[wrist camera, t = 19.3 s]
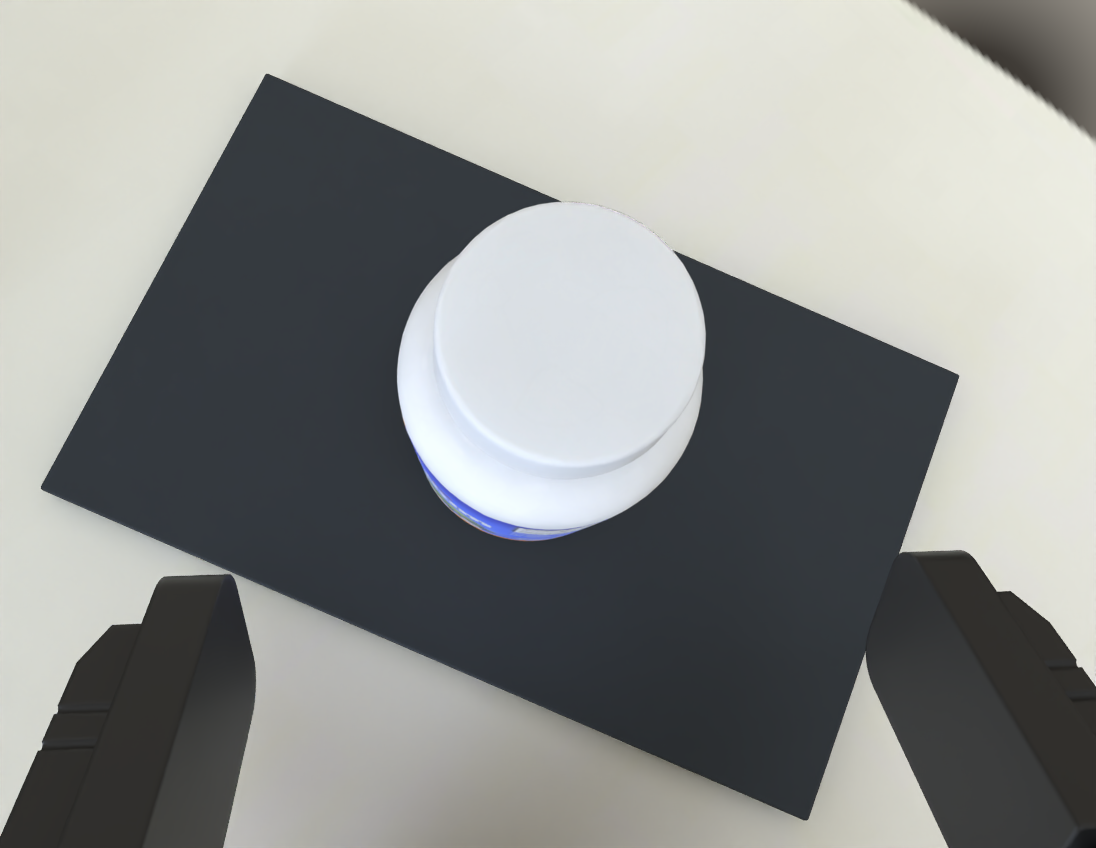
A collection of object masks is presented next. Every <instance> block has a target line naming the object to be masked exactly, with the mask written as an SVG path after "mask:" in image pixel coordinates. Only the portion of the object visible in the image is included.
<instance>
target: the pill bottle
mask: <svg viewBox="0 0 1096 848" xmlns="http://www.w3.org/2000/svg"><path fill="white" fill-rule="evenodd" d="M705 341H706V330H705V322H704V314H703V310H702V306H701V302H700V299H699V296H698V293H697V290H696V288H695V285H694V283H693V281H692V279H691V277H690V275H689V274H688V272H687V270H686V268H685V267H684V265H683V263H682V262H681V261H680V259H679V258H678V257H677V255H676V254H675V253H674V252H673V250H672V249H671V248H670V247H669V246H668V245H667V244H666V242H664V241H663V240H662V239H661V238H660V237H658V236H657V235H656V234H655V233H654V232H652V231H651V230H650V229H648V228H647V227H646V226H644V225H643V224H642V223H640V222H638V221H636V220H635V219H633V218H631V217H629V216H626V215H624V214H622V213H620V212H618V211H615V210H612V209H609V208H606V207H603V206H600V205H593V204H586V203H578V202H552V203H545V204H539V205H535V206H531V207H527V208H524V209H521V210H519V211H516V212H514V213H512V214H509V215H507V216H505V217H503V218H501V219H500V220H498V221H496V222H495V223H493V224H492V225H490V226H488V227H487V228H486V229H484V230H483V231H482V232H481V233H480V234H478V235H477V236H476V237H475V238H474V239H473V240H472V241H471V242H470V243H469V244H468V245H467V246H466V247H465V248H464V250H463V251H462V252H461V253H460V254H459V255H458V256H457V257H455V258H454V259H453V260H451V261H450V262H449V263H448V264H446V265H445V266H444V267H443V268H442V269H441V270H440V271H439V273H438V274H437V275H436V276H435V277H434V278H433V279H432V280H431V281H430V283H429V284H428V285H427V286H426V288H425V289H424V291H423V292H422V294H421V295H420V297H419V298H418V300H417V302H416V303H415V305H414V307H413V309H412V312H411V314H410V316H409V319H408V321H407V324H406V327H405V329H404V332H403V336H402V340H401V345H400V350H399V356H398V367H397V386H398V395H399V402H400V407H401V411H402V417H403V421H404V424H405V428H406V431H407V433H408V435H409V437H410V440H411V442H412V444H413V447H414V449H415V451H416V454H417V456H418V458H419V461H420V463H421V465H422V467H423V470H424V472H425V474H426V477H427V479H428V480H429V482H430V484H431V486H432V488H433V489H434V491H435V492H436V493H437V495H438V496H439V498H440V499H441V500H442V501H443V502H444V504H445V505H446V506H447V507H448V508H449V509H450V510H451V511H452V512H454V513H455V514H456V515H457V516H458V517H460V518H461V519H463V520H464V521H466V522H467V523H469V524H470V525H472V526H474V527H476V528H477V529H479V530H481V531H483V532H486V533H488V534H491V535H494V536H497V537H501V538H505V539H510V540H519V541H539V540H548V539H554V538H558V537H562V536H565V535H568V534H571V533H573V532H576V531H579V530H581V529H584V528H587V527H590V526H592V525H595V524H597V523H600V522H602V521H605V520H607V519H609V518H612V517H613V516H615V515H617V514H619V513H621V512H623V511H625V510H627V509H628V508H630V507H631V506H633V505H634V504H636V503H637V502H639V501H640V500H642V499H643V498H644V497H646V496H647V495H648V494H649V493H650V492H652V491H653V490H654V489H655V488H656V487H657V486H658V485H659V484H660V483H661V482H662V481H663V480H664V479H665V478H666V477H667V475H668V474H669V473H670V472H671V470H672V469H673V468H674V466H675V465H676V463H677V462H678V460H679V459H680V457H681V456H682V454H683V452H684V450H685V448H686V446H687V444H688V442H689V440H690V438H691V436H692V433H693V431H694V427H695V424H696V421H697V418H698V414H699V409H700V404H701V396H702V385H703V369H702V367H703V362H704V356H705Z"/></svg>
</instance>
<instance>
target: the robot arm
mask: <svg viewBox="0 0 1096 848" xmlns="http://www.w3.org/2000/svg"><path fill="white" fill-rule="evenodd" d="M866 662H867V668H868V672H869V676H870V679H871V682H872V685H873V687H874V689H875V691H876V694H877V696H878V698H879V700H880V702H881V704H882V706H883V709H884V711H885V713H886V715H887V717H888V719H889V721H890V724H891V726H892V728H893V730H894V732H895V734H896V736H897V738H898V741H899V743H900V745H901V747H902V749H903V751H904V753H905V756H906V758H907V760H908V762H909V764H910V766H911V768H912V771H913V773H914V775H915V777H916V779H917V781H918V783H919V786H920V788H921V790H922V792H923V794H924V796H925V798H926V801H927V803H928V805H929V807H930V809H931V811H932V813H933V815H934V818H935V820H936V822H937V824H938V826H939V828H940V830H941V833H942V835H943V837H944V839H945V841H946V843H947V845H948V848H1096V686H1095V685H1094V683H1093V682H1092V681H1091V679H1090V678H1089V677H1088V675H1087V674H1086V672H1085V671H1084V670H1083V668H1082V667H1079V668H1078V667H1077V665H1076V658H1075V657H1074V656H1073V654H1072V653H1071V651H1070V650H1069V649H1068V647H1067V646H1066V644H1065V643H1064V642H1063V640H1062V639H1061V637H1060V636H1059V635H1058V633H1057V632H1056V631H1055V629H1054V628H1053V626H1052V625H1051V624H1050V622H1048V621H1047V620H1046V619H1045V618H1043V617H1042V616H1041V615H1040V614H1038V613H1037V612H1036V611H1035V610H1033V609H1032V608H1031V607H1030V606H1028V605H1027V604H1026V603H1025V602H1024V601H1022V600H1021V599H1020V598H1019V597H1017V596H1016V595H1015V594H1014V593H1012V592H1011V591H1005V592H997V591H996V590H995V588H994V587H993V585H992V584H991V582H990V581H989V579H988V578H987V576H986V575H985V573H984V572H983V570H982V569H981V568H980V566H979V565H978V563H977V562H976V560H975V559H974V558H973V557H972V556H971V555H970V554H969V553H967V552H965V551H962V550H956V551H928V552H903V553H900V554H899V555H898V556H897V557H896V558H895V560H894V561H893V564H892V566H891V569H890V572H889V575H888V578H887V580H886V583H885V586H884V589H883V592H882V594H881V597H880V600H879V603H878V606H877V609H876V611H875V614H874V617H873V620H872V623H871V626H870V628H869V631H868V635H867V640H866ZM255 692H256V671H255V661H254V656H253V652H252V648H251V644H250V640H249V635H248V631H247V627H246V623H245V619H244V615H243V610H242V606H241V602H240V598H239V594H238V590H237V586H236V582H235V580H234V578H233V577H232V575H230V574H224V575H196V576H168V577H163V578H161V579H160V581H159V582H158V584H157V585H156V587H155V590H154V592H153V595H152V597H151V600H150V603H149V605H148V608H147V611H146V613H145V616H144V618H143V621H142V624H125V625H112V626H111V627H110V628H109V629H108V630H107V631H106V632H105V633H104V634H103V635H102V636H101V637H100V638H99V639H98V641H97V642H96V643H95V644H94V645H93V646H92V647H91V648H90V649H89V650H88V651H87V652H86V653H85V654H84V655H83V656H82V658H81V659H80V660H79V661H78V662H77V663H76V665H75V668H74V670H73V672H72V674H71V677H70V679H69V681H68V684H67V686H66V688H65V690H64V693H63V695H62V697H61V700H60V702H59V704H58V713H57V714H54V715H53V718H52V720H51V722H50V725H49V727H48V729H47V731H46V734H45V736H44V738H43V741H42V743H43V746H42V750H41V751H38V752H37V754H36V756H35V759H34V761H33V763H32V766H31V768H30V770H29V772H28V775H27V777H26V779H25V782H24V784H23V786H22V788H21V791H20V793H19V795H18V797H17V800H16V802H15V804H14V807H13V809H12V811H11V813H10V816H9V818H8V820H7V823H6V825H5V827H4V829H3V832H2V834H1V836H0V848H223V846H224V841H225V837H226V832H227V828H228V823H229V819H230V814H231V810H232V805H233V801H234V796H235V792H236V787H237V783H238V778H239V774H240V769H241V765H242V760H243V756H244V751H245V747H246V742H247V738H248V733H249V729H250V724H251V720H252V715H253V710H254V703H255Z"/></svg>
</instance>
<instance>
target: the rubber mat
mask: <svg viewBox="0 0 1096 848" xmlns="http://www.w3.org/2000/svg"><path fill="white" fill-rule="evenodd" d="M552 202H561V201H559V200H556V199H554V198H552V197H549V196H547V195H545V194H542V193H540V192H538V191H536V190H533V189H531V188H529V187H526V186H524V185H522V184H520V183H517V182H515V181H513V180H510V179H508V178H506V177H503V176H501V175H499V174H497V173H494V172H492V171H490V170H487V169H485V168H483V167H481V166H478V165H476V164H474V163H471V162H469V161H467V160H465V159H462V158H460V157H458V156H455V155H453V154H451V153H448V152H446V151H444V150H442V149H439V148H437V147H435V146H432V145H430V144H428V143H426V142H423V141H421V140H419V139H416V138H414V137H412V136H409V135H407V134H405V133H403V132H400V131H398V130H396V129H393V128H391V127H389V126H387V125H384V124H382V123H380V122H377V121H375V120H373V119H370V118H368V117H366V116H364V115H361V114H359V113H357V112H354V111H352V110H350V109H348V108H345V107H343V106H341V105H338V104H336V103H334V102H331V101H329V100H327V99H325V98H322V97H320V96H318V95H315V94H313V93H311V92H309V91H306V90H304V89H302V88H299V87H297V86H295V85H292V84H290V83H288V82H286V81H283V80H281V79H279V78H276V77H274V76H272V75H270V74H266V75H265V77H264V78H263V80H262V82H261V84H260V86H259V88H258V89H257V91H256V93H255V95H254V97H253V99H252V100H251V102H250V104H249V106H248V108H247V110H246V111H245V113H244V115H243V117H242V119H241V121H240V122H239V124H238V126H237V128H236V130H235V132H234V133H233V135H232V137H231V139H230V141H229V143H228V144H227V146H226V148H225V150H224V152H223V154H222V155H221V157H220V159H219V161H218V163H217V165H216V166H215V168H214V170H213V172H212V174H211V176H210V177H209V179H208V181H207V183H206V185H205V187H204V188H203V190H202V192H201V194H200V196H199V198H198V199H197V201H196V203H195V205H194V207H193V209H192V210H191V212H190V214H189V216H188V218H187V220H186V221H185V223H184V225H183V227H182V229H181V231H180V232H179V234H178V236H177V238H176V240H175V242H174V243H173V245H172V247H171V249H170V251H169V253H168V254H167V256H166V258H165V260H164V262H163V264H162V265H161V267H160V269H159V271H158V273H157V275H156V277H155V278H154V280H153V282H152V284H151V286H150V288H149V289H148V291H147V293H146V295H145V297H144V299H143V300H142V302H141V304H140V306H139V308H138V310H137V311H136V313H135V315H134V317H133V319H132V321H131V322H130V324H129V326H128V328H127V330H126V332H125V333H124V335H123V337H122V339H121V341H120V343H119V344H118V346H117V348H116V350H115V352H114V354H113V355H112V357H111V359H110V361H109V363H108V365H107V366H106V368H105V370H104V372H103V374H102V376H101V377H100V379H99V381H98V383H97V385H96V387H95V388H94V390H93V392H92V394H91V396H90V398H89V399H88V401H87V403H86V405H85V407H84V409H83V410H82V412H81V414H80V416H79V418H78V420H77V421H76V423H75V425H74V427H73V429H72V431H71V432H70V434H69V436H68V438H67V440H66V442H65V443H64V445H63V447H62V449H61V451H60V453H59V454H58V456H57V458H56V460H55V462H54V464H53V465H52V467H51V469H50V471H49V473H48V475H47V476H46V478H45V480H44V482H43V484H42V486H41V489H42V490H43V491H46V492H48V493H50V494H53V495H55V496H57V497H60V498H62V499H64V500H66V501H69V502H71V503H73V504H76V505H78V506H80V507H83V508H85V509H87V510H90V511H92V512H94V513H96V514H99V515H101V516H103V517H106V518H108V519H110V520H113V521H115V522H117V523H120V524H122V525H124V526H126V527H129V528H131V529H133V530H136V531H138V532H140V533H143V534H145V535H147V536H150V537H152V538H154V539H156V540H159V541H161V542H163V543H166V544H168V545H170V546H173V547H175V548H177V549H180V550H182V551H184V552H186V553H189V554H191V555H193V556H196V557H198V558H200V559H203V560H205V561H207V562H209V563H212V564H214V565H216V566H219V567H221V568H223V569H226V570H228V571H230V572H233V573H235V574H237V575H239V576H242V577H244V578H246V579H249V580H251V581H253V582H256V583H258V584H260V585H263V586H265V587H267V588H269V589H272V590H274V591H276V592H279V593H281V594H283V595H286V596H288V597H290V598H293V599H295V600H297V601H299V602H302V603H304V604H306V605H309V606H311V607H313V608H316V609H318V610H320V611H323V612H325V613H327V614H329V615H332V616H334V617H336V618H339V619H341V620H343V621H346V622H348V623H350V624H353V625H355V626H357V627H359V628H362V629H364V630H366V631H369V632H371V633H373V634H376V635H378V636H380V637H383V638H385V639H387V640H389V641H392V642H394V643H396V644H399V645H401V646H403V647H406V648H408V649H410V650H413V651H415V652H417V653H419V654H422V655H424V656H426V657H429V658H431V659H433V660H436V661H438V662H440V663H443V664H445V665H447V666H449V667H452V668H454V669H456V670H459V671H461V672H463V673H466V674H468V675H470V676H473V677H475V678H477V679H479V680H482V681H484V682H486V683H489V684H491V685H493V686H496V687H498V688H500V689H503V690H505V691H507V692H509V693H512V694H514V695H516V696H519V697H521V698H523V699H526V700H528V701H530V702H532V703H535V704H537V705H539V706H542V707H544V708H546V709H549V710H551V711H553V712H556V713H558V714H560V715H562V716H565V717H567V718H569V719H572V720H574V721H576V722H579V723H581V724H583V725H586V726H588V727H590V728H592V729H595V730H597V731H599V732H602V733H604V734H606V735H609V736H611V737H613V738H616V739H618V740H620V741H622V742H625V743H627V744H629V745H632V746H634V747H636V748H639V749H641V750H643V751H646V752H648V753H650V754H652V755H655V756H657V757H659V758H662V759H664V760H666V761H669V762H671V763H673V764H676V765H678V766H680V767H682V768H685V769H687V770H689V771H692V772H694V773H696V774H699V775H701V776H703V777H706V778H708V779H710V780H712V781H715V782H717V783H719V784H722V785H724V786H726V787H729V788H731V789H733V790H736V791H738V792H740V793H742V794H745V795H747V796H749V797H752V798H754V799H756V800H759V801H761V802H763V803H766V804H768V805H770V806H772V807H775V808H777V809H779V810H782V811H784V812H786V813H789V814H791V815H793V816H796V817H798V818H800V819H802V820H808V819H809V816H810V813H811V810H812V807H813V804H814V801H815V798H816V795H817V792H818V789H819V786H820V783H821V780H822V777H823V775H824V772H825V769H826V766H827V763H828V760H829V757H830V754H831V751H832V748H833V745H834V742H835V739H836V736H837V733H838V731H839V728H840V725H841V722H842V719H843V716H844V713H845V710H846V707H847V704H848V701H849V698H850V695H851V692H852V690H853V687H854V684H855V681H856V678H857V675H858V672H859V669H860V666H861V663H862V660H863V657H864V654H865V651H866V640H867V635H868V631H869V628H870V626H871V623H872V620H873V617H874V614H875V611H876V609H877V606H878V603H879V600H880V597H881V594H882V592H883V589H884V586H885V583H886V580H887V578H888V575H889V572H890V569H891V566H892V564H893V561H894V560H895V558H896V557H897V556H898V555H899V552H900V549H901V546H902V543H903V540H904V537H905V534H906V531H907V528H908V525H909V522H910V519H911V517H912V514H913V511H914V508H915V505H916V502H917V499H918V496H919V493H920V490H921V487H922V484H923V481H924V478H925V475H926V473H927V470H928V467H929V464H930V461H931V458H932V455H933V452H934V449H935V446H936V443H937V440H938V437H939V434H940V431H941V429H942V426H943V423H944V420H945V417H946V414H947V411H948V408H949V405H950V402H951V399H952V396H953V393H954V390H955V388H956V385H957V382H958V379H959V375H958V374H955V373H953V372H951V371H949V370H946V369H944V368H942V367H939V366H937V365H935V364H932V363H930V362H928V361H926V360H923V359H921V358H919V357H916V356H914V355H912V354H910V353H907V352H905V351H903V350H900V349H898V348H896V347H893V346H891V345H889V344H887V343H884V342H882V341H880V340H877V339H875V338H873V337H871V336H868V335H866V334H864V333H861V332H859V331H857V330H854V329H852V328H850V327H848V326H845V325H843V324H841V323H838V322H836V321H834V320H832V319H829V318H827V317H825V316H822V315H820V314H818V313H815V312H813V311H811V310H809V309H806V308H804V307H802V306H799V305H797V304H795V303H793V302H790V301H788V300H786V299H783V298H781V297H779V296H776V295H774V294H772V293H770V292H767V291H765V290H763V289H760V288H758V287H756V286H754V285H751V284H749V283H747V282H744V281H742V280H740V279H737V278H735V277H733V276H731V275H728V274H726V273H724V272H721V271H719V270H717V269H715V268H712V267H710V266H708V265H705V264H703V263H701V262H698V261H696V260H694V259H692V258H689V257H687V256H685V255H682V254H680V253H678V252H676V251H673V252H674V253H675V254H676V255H677V257H678V258H679V259H680V261H681V262H682V263H683V265H684V267H685V268H686V270H687V272H688V274H689V275H690V277H691V279H692V281H693V283H694V285H695V288H696V290H697V293H698V296H699V299H700V302H701V306H702V310H703V314H704V322H705V330H706V341H705V356H704V362H703V367H702V369H703V385H702V396H701V404H700V409H699V414H698V418H697V421H696V424H695V427H694V431H693V433H692V436H691V438H690V440H689V442H688V444H687V446H686V448H685V450H684V452H683V454H682V456H681V457H680V459H679V460H678V462H677V463H676V465H675V466H674V468H673V469H672V470H671V472H670V473H669V474H668V475H667V477H666V478H665V479H664V480H663V481H662V482H661V483H660V484H659V485H658V486H657V487H656V488H655V489H654V490H653V491H652V492H650V493H649V494H648V495H647V496H646V497H644V498H643V499H642V500H640V501H639V502H637V503H636V504H634V505H633V506H631V507H630V508H628V509H627V510H625V511H623V512H621V513H619V514H617V515H615V516H613V517H612V518H609V519H607V520H605V521H602V522H600V523H597V524H595V525H592V526H590V527H587V528H584V529H581V530H579V531H576V532H573V533H571V534H568V535H565V536H562V537H558V538H554V539H548V540H539V541H519V540H510V539H505V538H501V537H497V536H494V535H491V534H488V533H486V532H483V531H481V530H479V529H477V528H476V527H474V526H472V525H470V524H469V523H467V522H466V521H464V520H463V519H461V518H460V517H458V516H457V515H456V514H455V513H454V512H452V511H451V510H450V509H449V508H448V507H447V506H446V505H445V504H444V502H443V501H442V500H441V499H440V498H439V496H438V495H437V493H436V492H435V491H434V489H433V488H432V486H431V484H430V482H429V480H428V479H427V477H426V474H425V472H424V470H423V467H422V465H421V463H420V461H419V458H418V456H417V454H416V451H415V449H414V447H413V444H412V442H411V440H410V437H409V435H408V433H407V431H406V428H405V424H404V421H403V417H402V411H401V407H400V402H399V395H398V386H397V367H398V356H399V350H400V345H401V340H402V336H403V332H404V329H405V327H406V324H407V321H408V319H409V316H410V314H411V312H412V309H413V307H414V305H415V303H416V302H417V300H418V298H419V297H420V295H421V294H422V292H423V291H424V289H425V288H426V286H427V285H428V284H429V283H430V281H431V280H432V279H433V278H434V277H435V276H436V275H437V274H438V273H439V271H440V270H441V269H442V268H443V267H444V266H445V265H446V264H448V263H449V262H450V261H451V260H453V259H454V258H455V257H457V256H458V255H459V254H460V253H461V252H462V251H463V250H464V248H465V247H466V246H467V245H468V244H469V243H470V242H471V241H472V240H473V239H474V238H475V237H476V236H477V235H478V234H480V233H481V232H482V231H483V230H484V229H486V228H487V227H488V226H490V225H492V224H493V223H495V222H496V221H498V220H500V219H501V218H503V217H505V216H507V215H509V214H512V213H514V212H516V211H519V210H521V209H524V208H527V207H531V206H535V205H539V204H545V203H552Z"/></svg>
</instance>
